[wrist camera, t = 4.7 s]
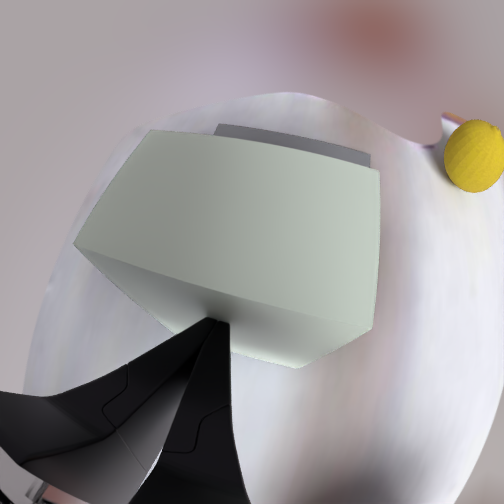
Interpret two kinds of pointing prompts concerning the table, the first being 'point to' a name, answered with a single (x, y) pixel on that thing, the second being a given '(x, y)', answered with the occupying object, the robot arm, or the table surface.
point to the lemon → (474, 156)
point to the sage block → (243, 242)
